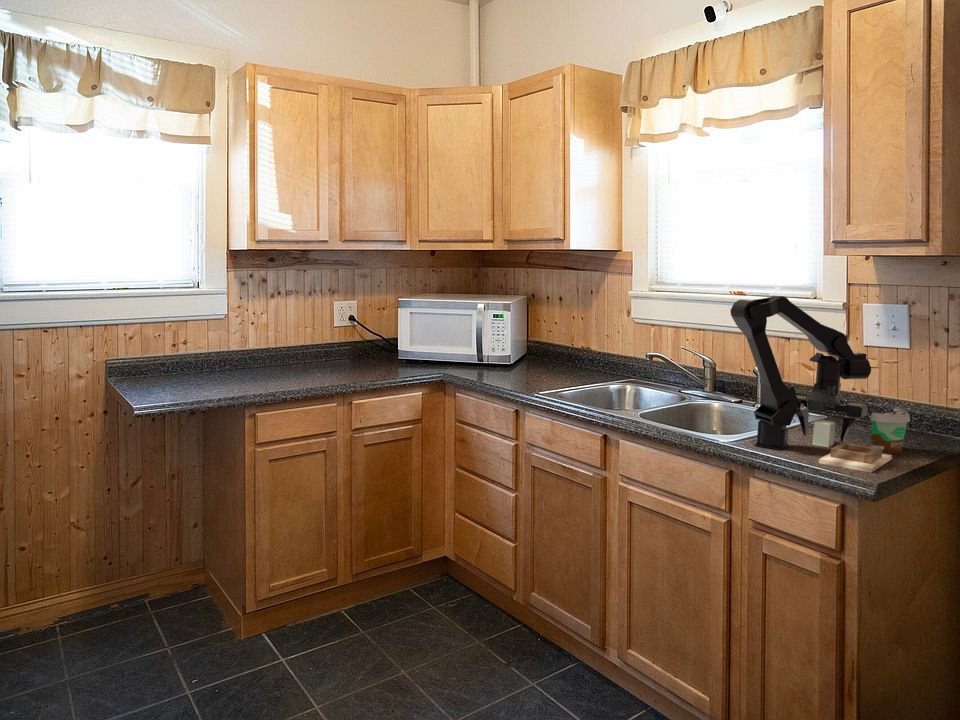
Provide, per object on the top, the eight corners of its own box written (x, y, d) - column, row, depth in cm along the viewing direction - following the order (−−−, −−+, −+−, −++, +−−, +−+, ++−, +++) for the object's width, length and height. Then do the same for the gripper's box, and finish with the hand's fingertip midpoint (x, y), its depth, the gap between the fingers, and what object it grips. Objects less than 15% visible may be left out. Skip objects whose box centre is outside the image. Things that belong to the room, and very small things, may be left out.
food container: (892, 456, 192) (895, 416, 191) (867, 451, 197) (870, 412, 196) (916, 450, 199) (920, 411, 198) (891, 445, 204) (895, 407, 203)
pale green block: (812, 444, 203) (814, 422, 202) (817, 442, 206) (819, 419, 205) (828, 447, 201) (830, 424, 200) (833, 444, 204) (835, 422, 203)
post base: (818, 463, 184) (819, 450, 184) (841, 450, 197) (842, 439, 197) (871, 472, 177) (872, 459, 176) (891, 459, 189) (892, 447, 189)
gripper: (780, 378, 201) (775, 437, 203) (857, 387, 189) (851, 450, 191) (795, 374, 210) (791, 431, 212) (870, 382, 197) (865, 442, 199)
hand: (823, 438), depth 203 cm, fingers open, 9 cm apart
